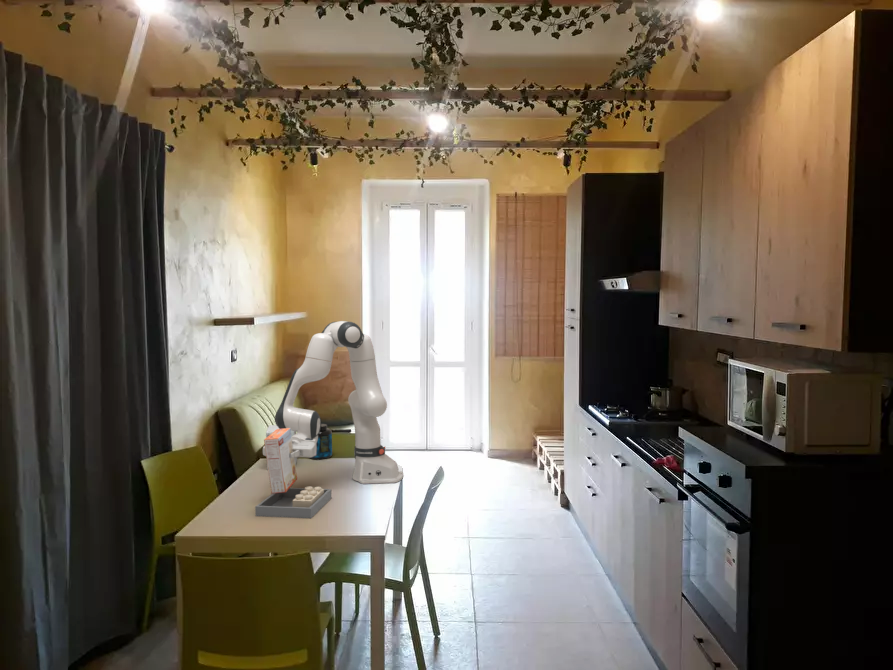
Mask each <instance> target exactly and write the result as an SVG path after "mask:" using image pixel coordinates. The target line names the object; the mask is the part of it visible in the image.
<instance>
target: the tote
mask: <svg viewBox="0 0 893 670" xmlns="http://www.w3.org/2000/svg"><path fill="white" fill-rule="evenodd" d="M323 489H324V494H323V495H322V496H321V497H320V498H319V499H318V500H317V501H316V502H315V503H314V504H312V505H311V506H310V507H309V508H307V507H293V500H294V499H295V498H296V495H298V494H300V491H302V490H305V487H304V488H303V487H290V488H289V489H288V490H287V492H284V493H271V494H270V495H268V496H267V497H266V498H265V499H263V500H262V501H260V502H259V503H258V504H257V505H255V507H254V509H255V510H254V511H255V517H265V518H266V517H268V518H288V519H289V518H292V519H293V518H294V519H313V517H314V516H315V515H316V514H318V512H319V511H320V510H321V509H322V508H323V507H325V505H326V504H327V503H328V502H329V501H330V500H331V499H332V489H331V488H323Z"/></svg>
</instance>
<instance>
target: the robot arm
mask: <svg viewBox="0 0 893 670" xmlns="http://www.w3.org/2000/svg"><path fill="white" fill-rule="evenodd" d="M338 348H346V349H347V351H348V355H349V357H348V358H349V365H350V366H349V367H350V375H351V380H352V381H353V384H354V386H355V390H353V391H351V392H350V394H349V395H348V398H347V399H348V400H347V401H348V405H349V407H350V410H351V415H352V421H353V426H354V436H355V437H354V438H355V440H354V442H355V446H354V450H353V451H354V452H353V453H354V454H353V455H354V468H353V469H354V471H353V474H352V480H353V481H356V482H359V484H363V485H364V484H365V485H366V484H393V483H394V484H395V483H398V482H400V481H401V480H403V478H404V476H405V475H404V472H402V471H400V470H399V467H398V466H399V465H398V463H397V461H396V460H395V459H393V458H392V457H390V456H389V455H387V454H386V446H383V445H381V443H382V442H381V427H380V424H379V422H378V418H379V417H381V416H383V415H384V414H385V412H386V411H387V408H388V403H387V399H386V398H385V396H384V394H383V391H382V388H381V385H380V381H379V378H378V372H377V365H376V364H377V363H376V355H375V354H376V353H375V349H374V345H373V341H372V339H371V337H370V336H369V335H367V334H364V333H363V331H362V329H361V326H360V325H358V324H357V323H355V322H353V321H346V320H339V321H332V322H329V323H328V324H327V325H325V327H324V329H323V330H322V332H318V333H315V334H313V335H312V337H311V338H310V341H309V344H308V347H307V349H306V353H305V358H304V360H303V363H302V364H301V365H300V367H298V368H296V369H295V370H294V371H293V373H292V375H291V377H290V380H289V382H288V385H287V387H286V390H285V391H284V395H283V398H282V400H281V403H280V405H279V406H278V409H277V410H276V413H275V416H274V423H275V425H277V426H278V428H279V429H281V428H291V431H296V434H295V435H293V436H292V443H293V452H290V453H289V458H293V457H294V458H297V459H299V458H309V457H313V456H315V455H316V443H317V441H318V434H319V432H320V428H321V424H322V419H321V416H320V414H319V413H318V411H317V410H313V409H306V408H305V409H304V408H302V407H301V408H300V407H296V406H294V403H295V400H296V398H297V395H298V393H299V390H300V388H301V387H302V386H303V385H305V384H309V383H314V382H317V381H321V380H323V379H325V378H326V377H327V376H328V375H329V374H330V371H331V368H332V362H333V357H334V353H335V352H336V349H338ZM377 417H378V418H377ZM262 455H263V456H265V457H266V451H265V445H263V447H262Z"/></svg>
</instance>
